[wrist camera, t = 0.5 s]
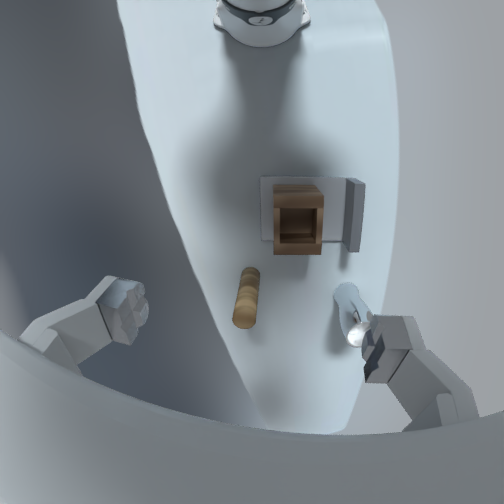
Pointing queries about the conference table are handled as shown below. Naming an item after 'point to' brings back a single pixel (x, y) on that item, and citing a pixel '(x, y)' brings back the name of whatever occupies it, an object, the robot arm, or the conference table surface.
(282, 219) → the socket block
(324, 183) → the rail base
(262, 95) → the conference table surface
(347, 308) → the beer glass
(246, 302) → the dowel
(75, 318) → the robot arm
